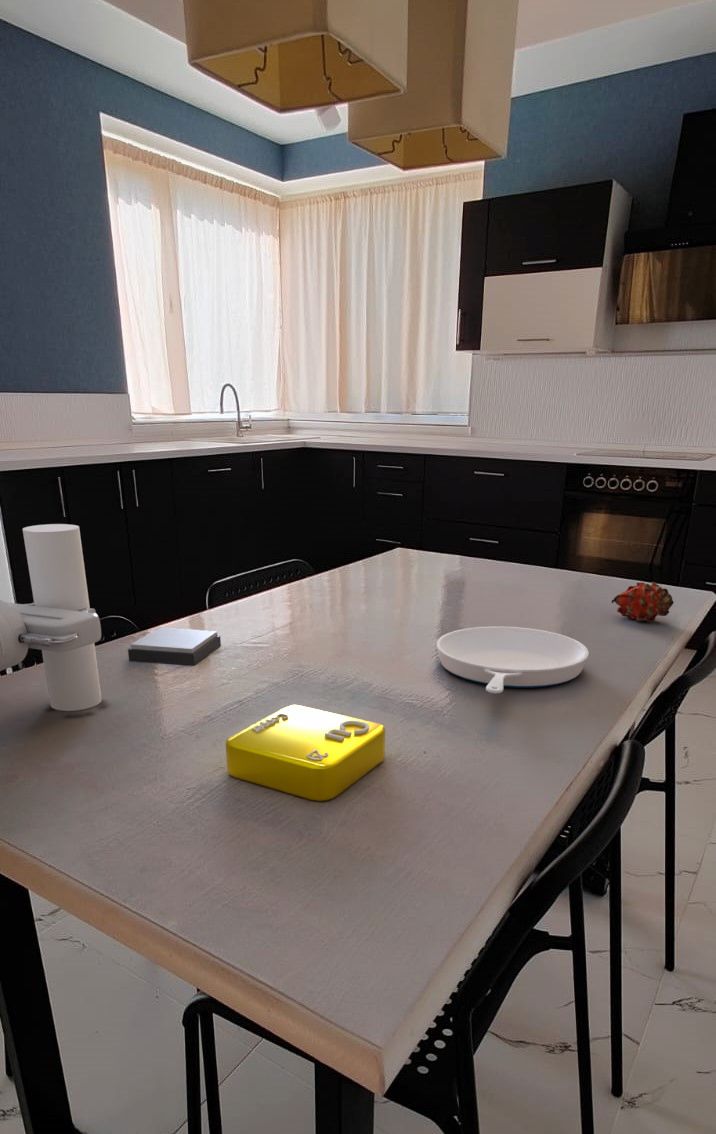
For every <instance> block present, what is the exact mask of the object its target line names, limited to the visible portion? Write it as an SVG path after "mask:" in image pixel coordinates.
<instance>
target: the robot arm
mask: <svg viewBox="0 0 716 1134" xmlns="http://www.w3.org/2000/svg"><path fill="white" fill-rule="evenodd" d="M101 627H102V625H101V621H100V617H99V615H98V613H97V612H96V609H95V608H91V607H90V608H83V609H80V610H78V611H73V610H64V609H56V608H48V607H40V606H35V605H34V602H32V603H23V604H22V603H14V602H6V601H4V600H1V599H0V672H1V671H4V670H7V669H9V668H11V667H14V666H16V665H19V664H21V663H22V662H23V661H24V660H25V658H26V656H27V655H28V651H29V649H33V650H40V651H42V650H47V651H55V652H60V651H68V650H73V649H76V648H80V647H83V646H86V645H89V644H92V643H94V644H95V643H97V642H99V641H100V640H101V639H102V628H101Z"/></svg>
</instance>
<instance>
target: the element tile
mask: <svg viewBox="0 0 716 1134" xmlns="http://www.w3.org/2000/svg"><path fill="white" fill-rule="evenodd" d="M224 743H225V754H226V755H225V759H226V770H227V773H228V775H230V776H231V777H233V778H235V779H238V780H242V781H245V782H248V783H253V784H255V785H259V786H263V787H265V788H268V789H273V790H276V791H280V792H283V793H286V794H290V795H293V796H296V797H300V798H303V799H306V800H310V801H314V802H315V801H316V802H325V801H330V800H332V799H334V798H336V797H338V796H339V795H340V794H341V793H343V792H344V791H346V790H347V789H348V788H349V787H351V786H352V785H354V783H356V782H357V781H359V780H360V779H361V778H362V777H364V776H365V775H366V774H368V773H369V772H370V771H372V770H373V769H374V768H376V767H377V766H378V765H380V764H381V763H382V762H383V761H384V759H385V756H386V728H385V726H384V725H383V724H381V723H377V722H374V721H369V720H365V719H361V718H356V717H352V716H348V715H342V714H338V713H334V712H329V711H325V710H321V709H318V708H317V709H316V708H312V707H308V706H303V705H298V704H291V705H289V706H285V707H283V708H281V709H279V710H278V711H275V712H273V713H272V714H269V715H268V716H266V717H264V718H262V719H260V720H259V721H257V722H255V723H253V724H251V725H249V726H248V727H245V728H243V729H241V730H240V731H238V732H236V733H234V734H232V735H230V736H229V737H228V738H227V739H226V740H225V742H224Z"/></svg>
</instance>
